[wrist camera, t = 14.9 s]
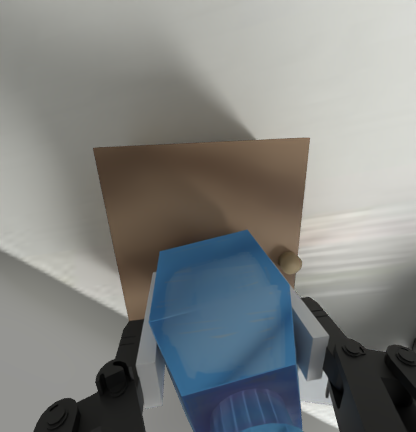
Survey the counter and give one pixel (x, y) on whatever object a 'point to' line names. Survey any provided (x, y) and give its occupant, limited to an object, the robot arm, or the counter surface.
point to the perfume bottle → (227, 335)
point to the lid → (200, 202)
